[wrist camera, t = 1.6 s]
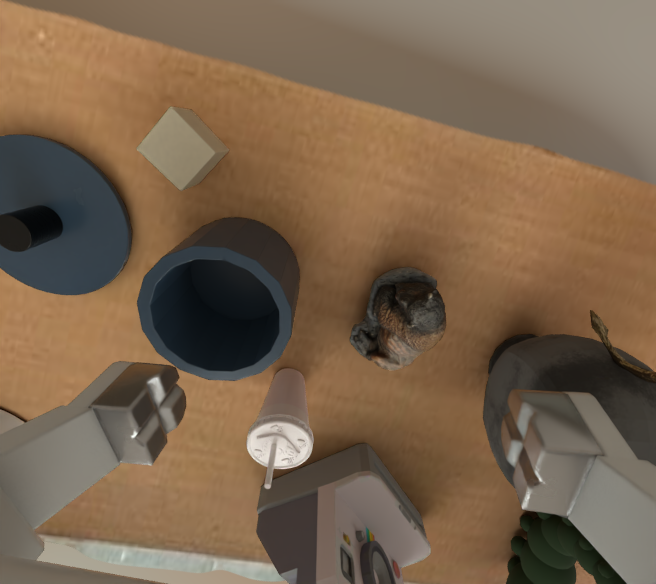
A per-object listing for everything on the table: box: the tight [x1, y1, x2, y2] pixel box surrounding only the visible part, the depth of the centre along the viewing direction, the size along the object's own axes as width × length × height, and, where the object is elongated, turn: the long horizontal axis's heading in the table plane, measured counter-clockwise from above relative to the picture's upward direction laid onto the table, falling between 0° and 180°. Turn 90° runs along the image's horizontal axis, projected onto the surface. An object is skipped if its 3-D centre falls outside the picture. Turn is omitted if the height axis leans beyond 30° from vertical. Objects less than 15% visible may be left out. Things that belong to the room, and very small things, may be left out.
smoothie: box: [247, 368, 314, 489], centre depth 36 cm, size 6×6×14 cm
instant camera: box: [256, 443, 431, 584], centre depth 45 cm, size 21×21×15 cm
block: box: [136, 106, 229, 191], centre depth 30 cm, size 4×4×4 cm
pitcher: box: [483, 310, 656, 519], centre depth 27 cm, size 11×19×30 cm, turn 175°
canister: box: [137, 217, 300, 381], centre depth 32 cm, size 12×12×10 cm
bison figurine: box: [350, 267, 446, 370], centre depth 34 cm, size 12×7×10 cm, turn 166°
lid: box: [0, 135, 132, 295], centre depth 32 cm, size 15×15×5 cm
